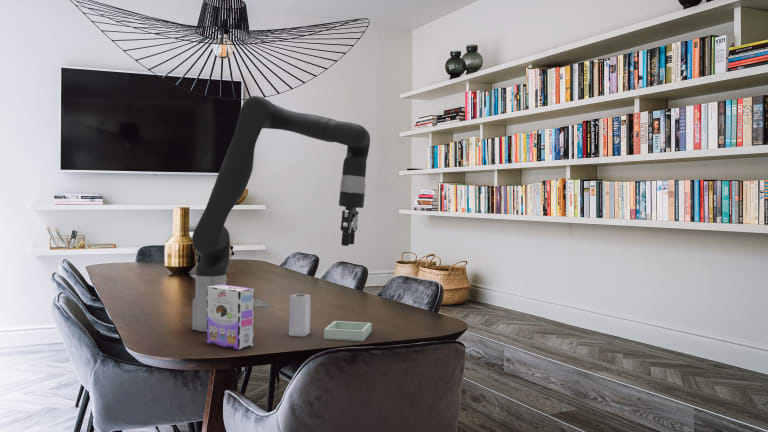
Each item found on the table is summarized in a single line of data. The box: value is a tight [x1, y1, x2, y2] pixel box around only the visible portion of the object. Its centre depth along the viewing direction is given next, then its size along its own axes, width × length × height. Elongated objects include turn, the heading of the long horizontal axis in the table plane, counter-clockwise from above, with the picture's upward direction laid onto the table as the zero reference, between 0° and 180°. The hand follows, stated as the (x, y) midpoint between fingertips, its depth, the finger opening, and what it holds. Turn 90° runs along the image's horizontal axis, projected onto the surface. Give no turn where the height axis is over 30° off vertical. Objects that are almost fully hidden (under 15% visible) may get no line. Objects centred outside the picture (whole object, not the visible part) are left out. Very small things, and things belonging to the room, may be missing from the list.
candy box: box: [206, 284, 255, 351], centre depth 162 cm, size 14×6×16 cm, turn 56°
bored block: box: [288, 293, 311, 338], centre depth 177 cm, size 5×5×12 cm
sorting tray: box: [323, 320, 372, 343], centre depth 176 cm, size 12×12×3 cm
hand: (347, 244), depth 173 cm, fingers open, 8 cm apart
